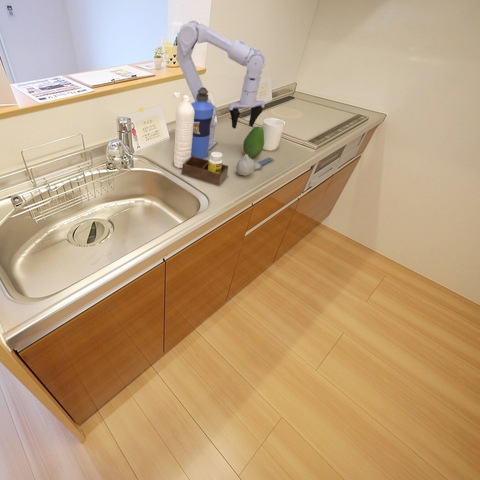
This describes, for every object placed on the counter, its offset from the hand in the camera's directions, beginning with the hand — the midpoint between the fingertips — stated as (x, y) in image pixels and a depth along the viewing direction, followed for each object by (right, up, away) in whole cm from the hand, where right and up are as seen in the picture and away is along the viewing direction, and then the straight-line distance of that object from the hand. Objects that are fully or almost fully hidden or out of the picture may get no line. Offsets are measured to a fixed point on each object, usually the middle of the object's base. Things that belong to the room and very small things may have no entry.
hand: (242, 126), depth 112 cm
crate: (-17, -22, -10) cm, 30 cm away
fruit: (+4, -12, +1) cm, 13 cm away
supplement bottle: (-14, -23, -11) cm, 29 cm away
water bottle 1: (-26, -16, -3) cm, 31 cm away
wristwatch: (+4, -18, -5) cm, 19 cm away
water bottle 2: (-18, -10, +3) cm, 21 cm away
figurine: (-2, -22, -9) cm, 24 cm away
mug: (+15, -5, +9) cm, 18 cm away
